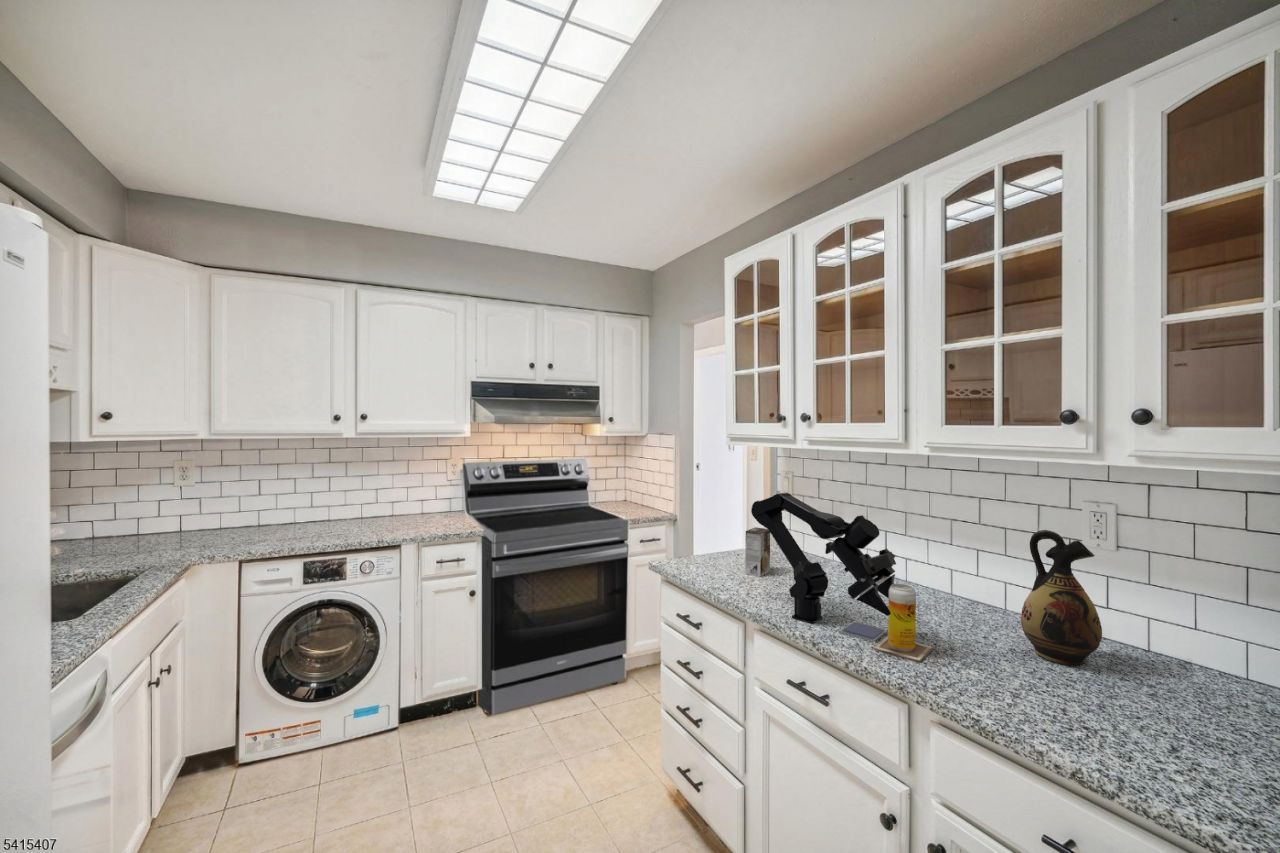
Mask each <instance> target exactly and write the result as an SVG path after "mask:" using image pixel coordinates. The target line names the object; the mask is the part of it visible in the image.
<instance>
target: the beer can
mask: <svg viewBox="0 0 1280 853" xmlns="http://www.w3.org/2000/svg"><path fill="white" fill-rule="evenodd" d="M888 609H889V610H890V612H891V614H890V615H889V616H887V617H888V621H887V622H888V624H887V636H888V643H889V644H890V646H891V647H892V648H893V649H895V650H898V651H904V652H909V651H912V650H913V649H914V648H915V643H916V630H917V629H916V626H917V625H916V622H917V618H916V617H917V615H916V614H917V592H916V591H915V587H913V586H911V585H909V584H902V583H894V584H892V585H891V587H890V588H889V599H888Z"/></svg>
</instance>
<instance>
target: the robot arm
mask: <svg viewBox="0 0 1280 853" xmlns="http://www.w3.org/2000/svg"><path fill="white" fill-rule="evenodd" d="M783 511H786V512H788V513H790V514H791V515H793V516H794V517H796V518H798V519H799V520H801V521H803V522H804V523H806V524H807V525H809V527H810V528H811V530H812V532H814V534H816V536H818V537H819V538H820V539H823V540H829V539H834V540H833V541H829V542H826V543H825V551H824V552H825V553H824V554H826V555H828V554H830V553H832V552H833V553H834V554H835V556H836V557H837V558H838V560H839V561H840V562H841V563H842V564H843V566H844V568H843V570H844V572H846V573H850V574H851V575H852V576H853V578H854V579H855V580H856V581H855V582H853V583H852V584H850V586H849V587H847V594H848V595H849V597H850V598H851V599H852V600H854V599H855V600H856V601H857V602H861V603H863V604H865V605H867V606H869V607H871V608H873V609H875V610H877V611H878V612H879V613H882V614H884V615H886V616H887V617H888V616H889V615H890V614H891V612H890V610H889V606H887V604H886V603H885V601H884V600H883V599H882V597H881V595H880V594H882V595H883V596H884V597H885V598H887V600H889V588H890V587H891V585H892V584H895V577H896V574H895V573H896V570H895V569H894V568H893V567H894V566H895V565H897V563H896V559H895V558H896V554H894V553H893V552H892V551H890V550H889V549H888V548H885V549H884V548H883V549H881V550H879V553H878V555H875V556H871V555H870V554H869V553H867V552H866V553H865V554H864V553H863V552H862V551H861V550H863V549H865V548H866V547H867V546H869V544H871V543H872V542H874V541H875V540H876V539H877V538H878V537H879V536H880V529H879V527H878V525H876V524H875V523H873V522H872V521H871V520H869V519H867V518H865V516H864V515H856V516H855V518H854V519H853V520H852V521H851V522H850V523H849V522H847V521H845V520H844V518H843V517H842V516H838V515H836V514H833V513H829V512H822V511H820V510H818V509H816V508H814V507H812V506H810V505H809V504H807V503H805V502H804V501H802V500H800V499H798V498H797V497H795V496H793V495H792V494H791V493H789V492H782V493H781V492H780V493H776V494H774V495H772V496H770V497H767V498H764V499H762V500H756V501H754V502H753V503H752V505H751V515H752V517H753V519H754V520H755V521H756V522H757V523H758V524H759V525H761V526H763V527H764V528H765V529H768V530H769V531H770V535H771V536H772V538H773V539H774V541H775V542H776V544H777V545H778V547H779V548H780V550H781V552H782V554H784V556H785V558H786V559H787V561H788V563H789V564H790V566H791V567H792V569H793V580H794V584H793V585H792V586H791V587H790V588H789V589H788V591H789V594H790V597H791V598H794V605H793V606H794V607H793V608H794V611H793V612H794V614H792V615H791V619H794V620H799V621H802V622H807V623H811V624H815V622H818V621H819V620H821V619H823V615H822V603H821V598H820V597H824V595H825V592H826V591H827V590H828V587H829V586H828V585H829V579H828V576H827V572H826V571H824V569H823V568H822V565H821V564H820V562H818V561H817V562H811V560H809V559H808V558H807V556H806V555H805V554H804V552H803V550H802V548H801V547H800V546H799V544H798V543H797V541H796V540H795V538H794V537H793V535H792V534H791V531H790V530H789V529H788V528H787V526H786V524H785V523H784V520H783ZM879 593H880V594H879Z"/></svg>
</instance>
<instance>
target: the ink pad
mask: <svg viewBox="0 0 1280 853" xmlns="http://www.w3.org/2000/svg"><path fill="white" fill-rule="evenodd" d="M840 633H841V635H844V634H845V636H848V635H849V637H851V636H853V638H855V637H856V639H859V638H860V640H862V639H864V640H863V641H866V640H868V641H867V642H870V641H871V643H873V642H875V643H877V642H878V641H879V640H880V639H881V637H882V638H883V637H884V636H886V635H888V629H887V630H886V629H884V628H881V627H880V628H879V627H875V626H871V625H868V624H864V623H860V622H856V621H852V622H851V623H850V624H848V625H847V626H845V627H844V628H841V630H839V634H840ZM877 640H878V641H877Z"/></svg>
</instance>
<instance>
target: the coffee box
mask: <svg viewBox="0 0 1280 853" xmlns="http://www.w3.org/2000/svg"><path fill="white" fill-rule="evenodd" d="M744 553H745V560H744V561H745V562H744V563H745V565H744V566H745V568H744V569H745V570H744V573H745V574H744V575H747V574H749V576H752V575H754V576H753V577H758V576H761V577H763V576H765V575H767V574H769V573H770V572H771V533H770V531H769V530H768V529H767V528H765V527H764V528H763V527H758V526H757V527H752V528H750V529H747V530H745V552H744ZM769 571H770V572H769ZM764 574H765V575H764Z"/></svg>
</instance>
